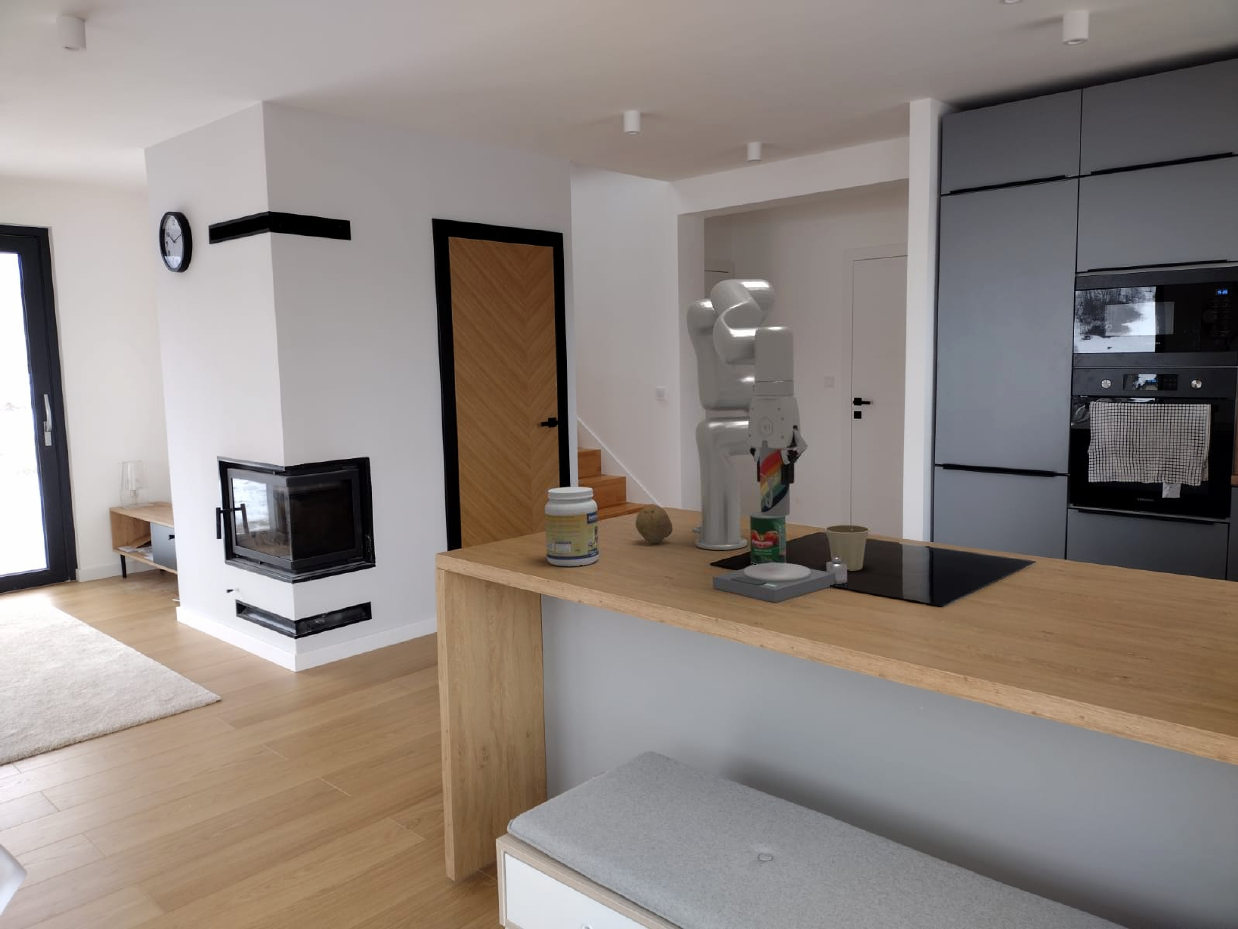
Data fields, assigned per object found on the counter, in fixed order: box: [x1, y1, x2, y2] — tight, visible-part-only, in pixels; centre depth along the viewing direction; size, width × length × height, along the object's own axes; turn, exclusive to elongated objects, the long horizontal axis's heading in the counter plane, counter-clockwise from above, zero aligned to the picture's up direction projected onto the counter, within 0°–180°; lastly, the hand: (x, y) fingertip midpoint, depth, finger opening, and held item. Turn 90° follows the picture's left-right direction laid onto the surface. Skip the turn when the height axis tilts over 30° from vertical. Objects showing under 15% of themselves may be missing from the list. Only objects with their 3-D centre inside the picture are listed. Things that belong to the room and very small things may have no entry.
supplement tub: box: [544, 486, 600, 567], centre depth 204 cm, size 12×12×17 cm
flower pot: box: [824, 524, 871, 572], centre depth 189 cm, size 9×9×9 cm
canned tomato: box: [749, 511, 787, 565], centre depth 196 cm, size 8×8×11 cm
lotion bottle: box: [759, 440, 791, 517], centre depth 173 cm, size 6×6×20 cm
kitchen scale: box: [712, 562, 835, 604], centre depth 175 cm, size 16×18×3 cm
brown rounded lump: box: [635, 503, 673, 545], centre depth 223 cm, size 9×9×10 cm
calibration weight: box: [825, 557, 848, 584], centre depth 177 cm, size 4×4×5 cm
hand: (775, 481), depth 174 cm, fingers closed on lotion bottle, 5 cm apart
